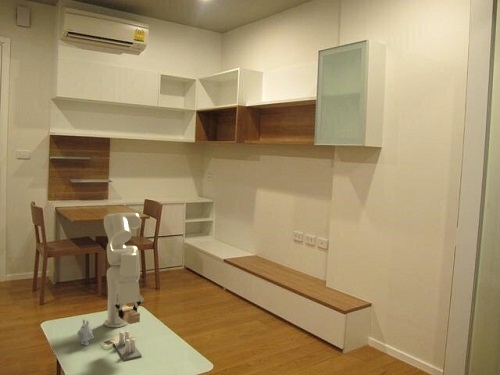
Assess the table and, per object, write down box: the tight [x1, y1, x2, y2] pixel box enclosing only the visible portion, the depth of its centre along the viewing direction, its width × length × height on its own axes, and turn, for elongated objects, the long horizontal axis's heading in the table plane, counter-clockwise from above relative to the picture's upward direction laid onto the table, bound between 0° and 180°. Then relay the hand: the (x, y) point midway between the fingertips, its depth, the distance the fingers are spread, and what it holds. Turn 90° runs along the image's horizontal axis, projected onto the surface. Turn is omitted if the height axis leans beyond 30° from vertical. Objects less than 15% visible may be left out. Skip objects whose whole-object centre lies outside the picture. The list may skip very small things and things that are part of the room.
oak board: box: [116, 304, 141, 325], centre depth 206 cm, size 14×5×4 cm, turn 42°
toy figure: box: [76, 319, 94, 346], centre depth 211 cm, size 11×6×12 cm, turn 63°
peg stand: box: [114, 330, 143, 362], centre depth 207 cm, size 20×8×7 cm, turn 31°
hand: (127, 316), depth 206 cm, fingers closed on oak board, 5 cm apart
